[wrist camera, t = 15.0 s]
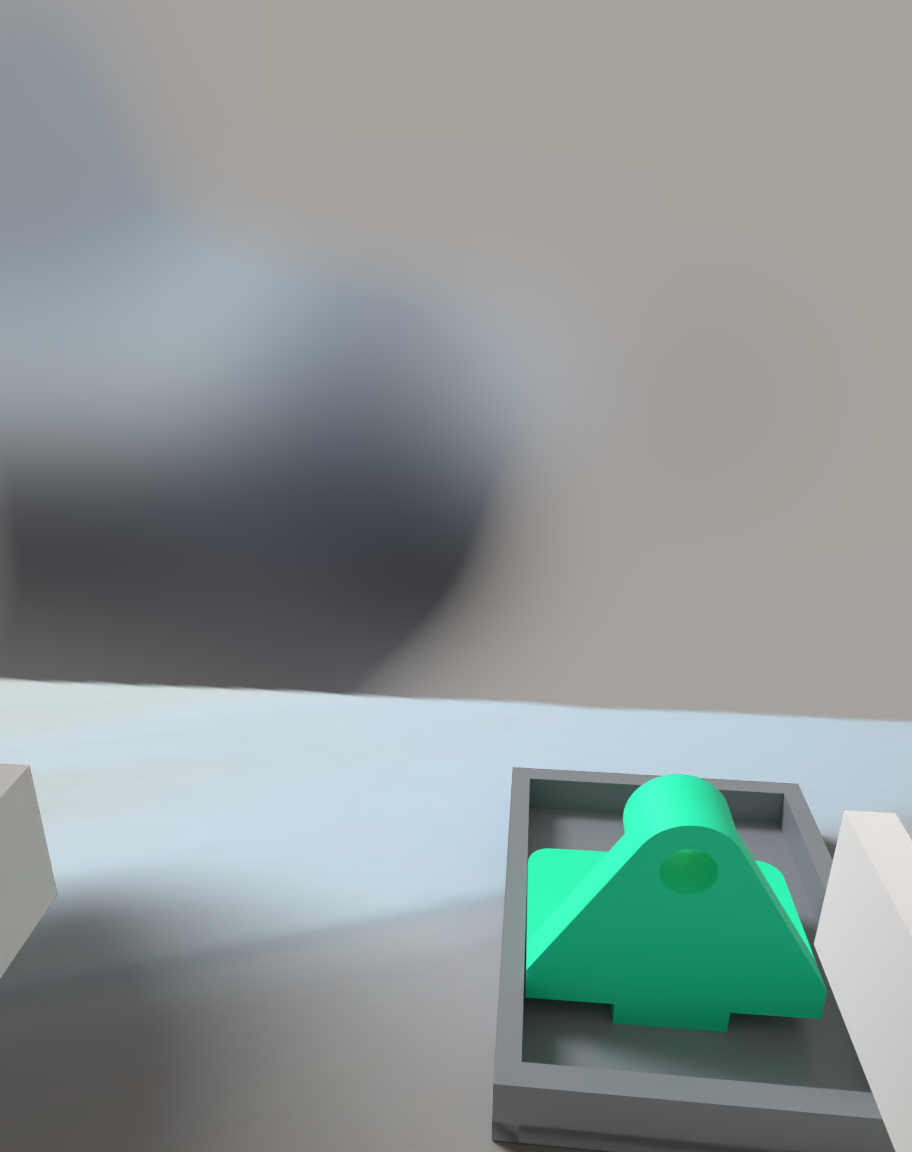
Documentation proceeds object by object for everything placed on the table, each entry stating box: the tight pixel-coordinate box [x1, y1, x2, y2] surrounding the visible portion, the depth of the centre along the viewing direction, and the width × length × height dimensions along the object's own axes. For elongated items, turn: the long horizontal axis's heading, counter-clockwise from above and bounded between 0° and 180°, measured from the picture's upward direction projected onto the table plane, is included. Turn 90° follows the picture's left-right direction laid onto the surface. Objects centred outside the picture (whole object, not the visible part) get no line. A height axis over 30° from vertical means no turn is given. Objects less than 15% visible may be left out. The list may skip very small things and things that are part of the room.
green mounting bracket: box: [525, 774, 827, 1032], centre depth 38 cm, size 12×8×10 cm, turn 85°
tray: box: [492, 767, 895, 1152], centre depth 41 cm, size 16×20×3 cm
